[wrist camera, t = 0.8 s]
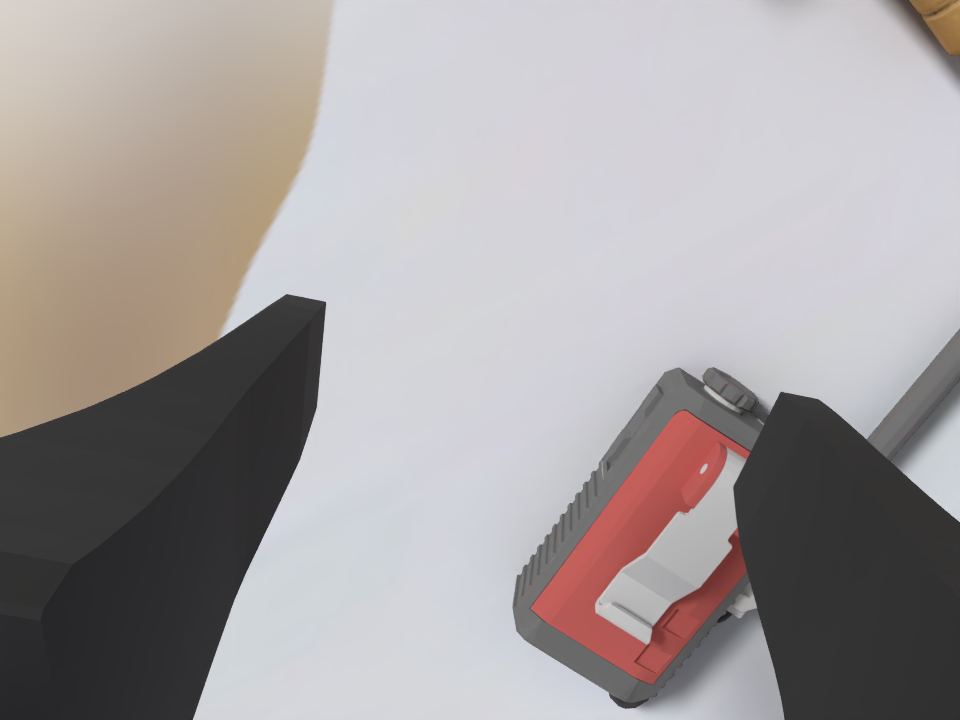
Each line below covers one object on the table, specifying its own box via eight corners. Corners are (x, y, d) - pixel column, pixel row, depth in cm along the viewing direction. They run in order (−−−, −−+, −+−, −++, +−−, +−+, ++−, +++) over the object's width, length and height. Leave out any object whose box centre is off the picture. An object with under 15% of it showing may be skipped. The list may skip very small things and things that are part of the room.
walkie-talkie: (668, 711, 33) (1006, 315, 27) (682, 795, 28) (1086, 344, 23) (490, 601, 32) (795, 178, 27) (476, 668, 28) (836, 182, 23)
